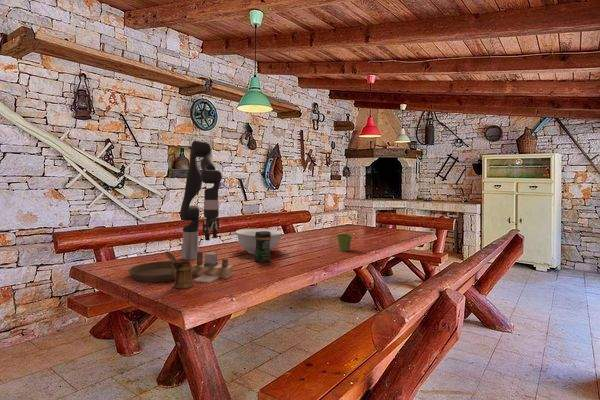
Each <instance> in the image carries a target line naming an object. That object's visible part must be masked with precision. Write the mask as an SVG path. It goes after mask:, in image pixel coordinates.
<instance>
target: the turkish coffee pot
mask: <svg viewBox="0 0 600 400" xmlns="http://www.w3.org/2000/svg"><path fill="white" fill-rule="evenodd" d="M165 255H166V257H167V259H169V261H172V262H173V263H172V265H171V273H172V275H173V277H174V279H175V280H174V282H173V288H175V289H177V290H179V289H180V290H182V289H190V288H192V287H194V286H195V285H194V280H193V275H192V267H191V265H192V264H191V261H189V260H184V261H180V262H176V261H177V259H176V258H175V256H174V255H173V253H171V252H169V251H168V250H165ZM175 268H176V273H175V272H174V270H175Z"/></svg>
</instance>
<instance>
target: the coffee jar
mask: <svg viewBox="0 0 600 400" xmlns="http://www.w3.org/2000/svg"><path fill="white" fill-rule="evenodd" d="M255 239H256V249H255V254H254V258H253V259H254V261H255V262H257V263H259V262H260V263H265V262H269V261H271V250H270V239H271V233H270V232H268V231H260V232H256V234H255Z"/></svg>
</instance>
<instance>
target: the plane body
mask: <svg viewBox="0 0 600 400" xmlns="http://www.w3.org/2000/svg"><path fill="white" fill-rule="evenodd" d="M203 256H204V255H203V250H202V251H201V250H198V252H197V259H196V263H195V264H192V269H191V273H192V276H197V277H200V276H202V275H206V276H217V277H218V279H219V278H220V279H229V278H230V277H232V276H233V275H234V265H232V264H231V265H230V264H229V258H222V259H221V264H219V262H218V261H217V263H215V264H208V263H205V262H203Z"/></svg>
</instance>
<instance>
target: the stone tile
mask: <svg viewBox="0 0 600 400" xmlns="http://www.w3.org/2000/svg"><path fill="white" fill-rule="evenodd" d="M218 279H219V278H218V277H217V276H206V275H202V276H197V277H196V278H194V279H193V282H198V283H208V284H211V283H213V282H214V281H216V280H218Z"/></svg>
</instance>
